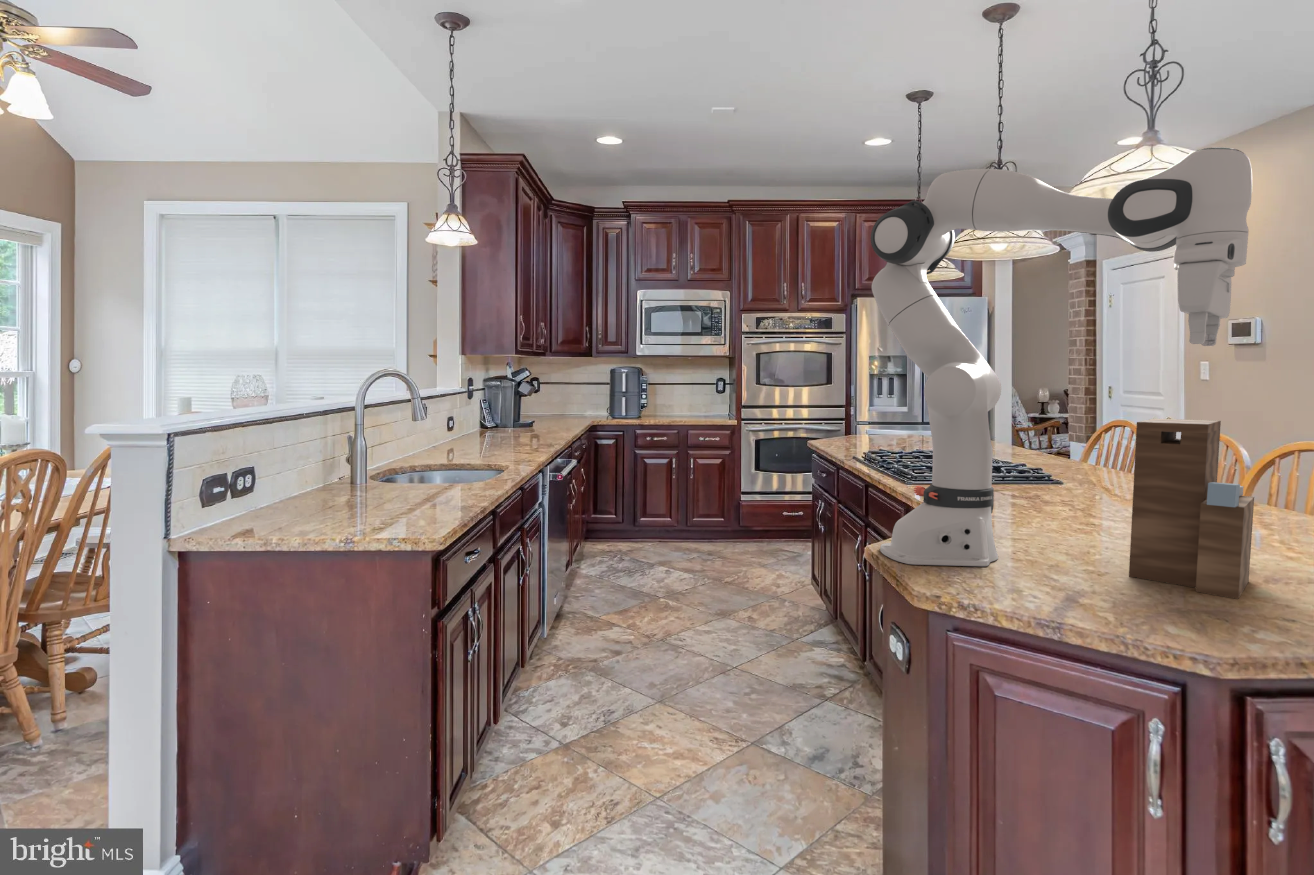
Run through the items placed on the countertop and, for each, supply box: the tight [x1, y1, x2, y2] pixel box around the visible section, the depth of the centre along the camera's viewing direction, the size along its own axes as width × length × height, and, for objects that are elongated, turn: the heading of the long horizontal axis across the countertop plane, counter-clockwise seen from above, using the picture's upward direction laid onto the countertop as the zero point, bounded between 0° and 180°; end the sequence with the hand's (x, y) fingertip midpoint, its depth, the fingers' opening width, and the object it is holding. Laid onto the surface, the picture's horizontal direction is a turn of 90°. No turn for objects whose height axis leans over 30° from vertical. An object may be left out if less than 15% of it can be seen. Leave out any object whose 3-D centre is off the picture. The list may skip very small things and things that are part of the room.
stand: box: [1128, 418, 1255, 600], centre depth 122 cm, size 17×16×28 cm
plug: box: [1207, 481, 1245, 507], centre depth 117 cm, size 20×4×4 cm, turn 134°
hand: (1202, 345), depth 109 cm, fingers open, 8 cm apart
